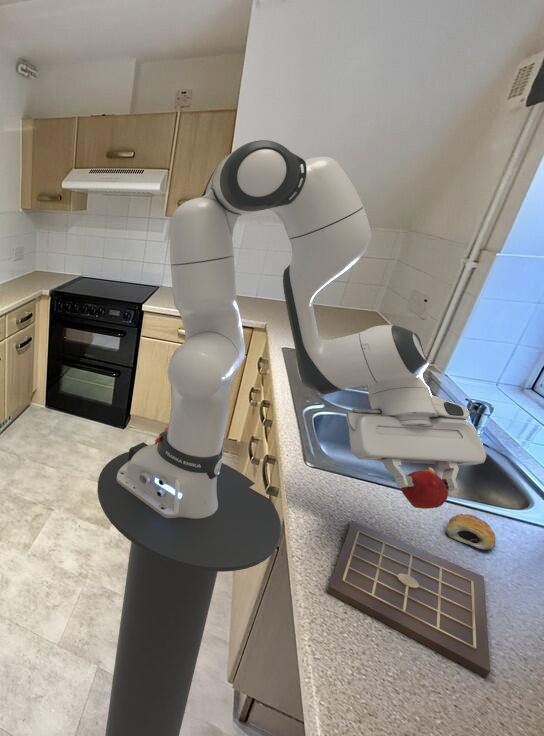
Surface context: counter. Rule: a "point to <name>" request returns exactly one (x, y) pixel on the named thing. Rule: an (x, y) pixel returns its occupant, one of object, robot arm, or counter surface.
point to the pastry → (471, 531)
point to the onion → (426, 490)
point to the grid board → (415, 594)
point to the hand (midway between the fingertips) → (428, 488)
